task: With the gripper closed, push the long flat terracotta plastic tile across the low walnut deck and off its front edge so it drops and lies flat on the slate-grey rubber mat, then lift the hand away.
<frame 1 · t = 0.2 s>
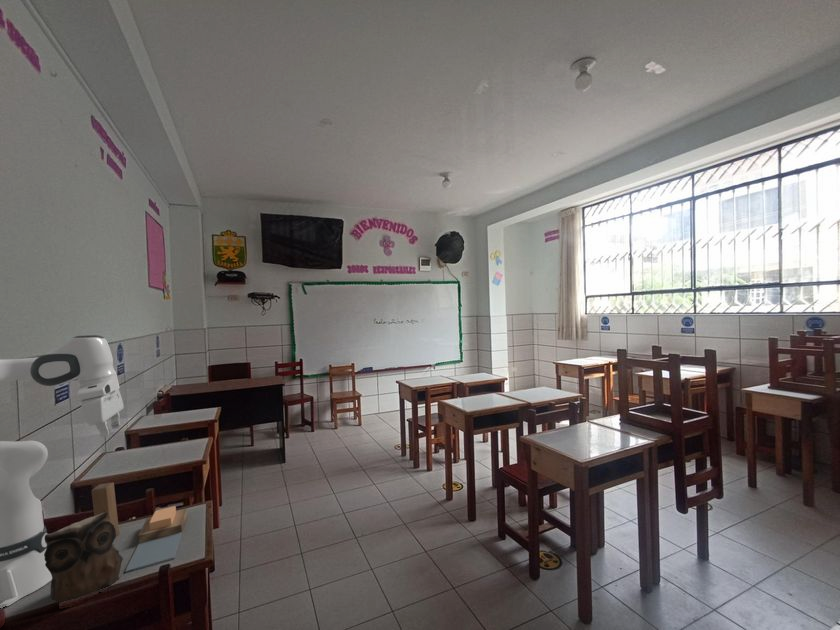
hand: (111, 431, 119), 39 cm above the table, tool pointing down, fingers open, 8 cm apart
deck: (164, 529, 134), on the table
wooden block: (101, 540, 131), on the table
mat: (155, 551, 122), on the table
tile: (163, 521, 134), point 3 cm above the table, touching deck
owl: (88, 589, 107), on the table
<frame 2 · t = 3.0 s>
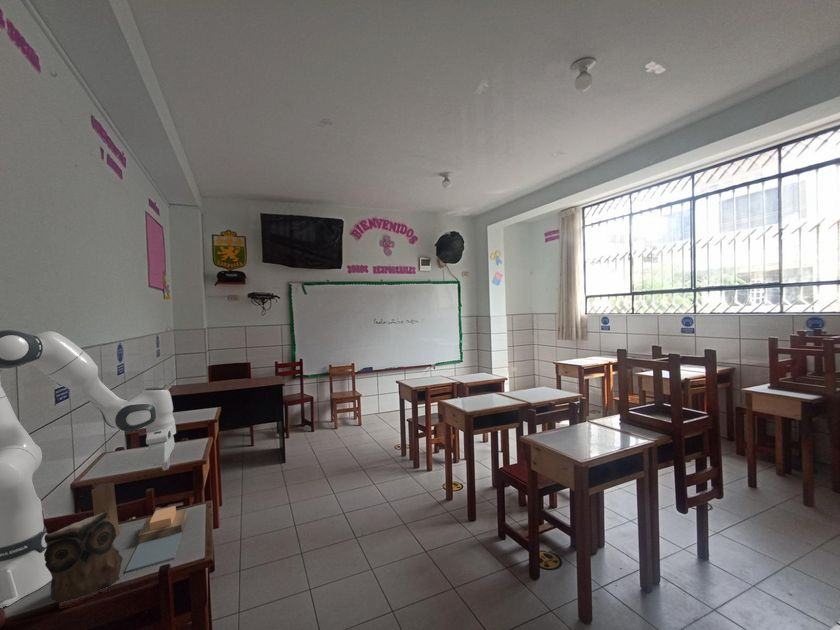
hand: (166, 468, 144), 17 cm above the table, tool pointing down, fingers closed
nothing on the table moved.
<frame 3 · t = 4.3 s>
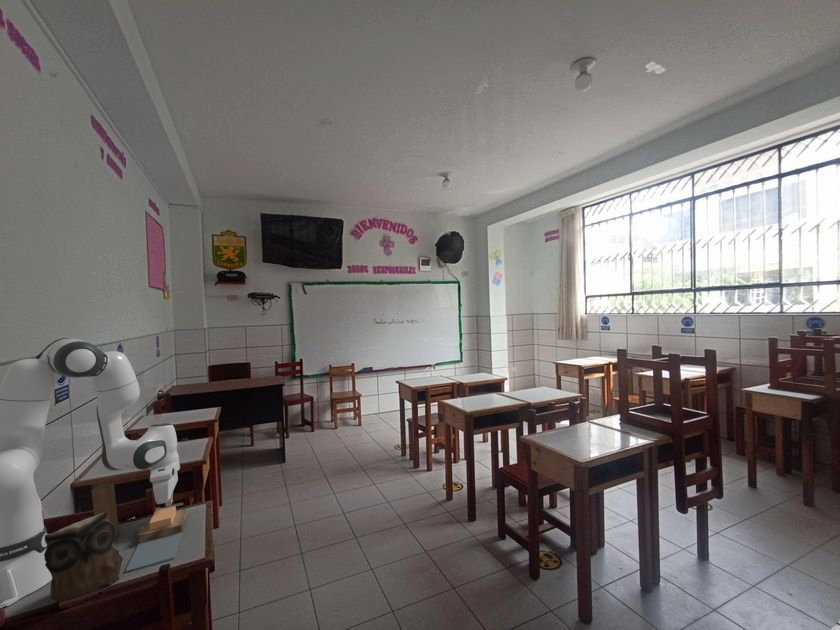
hand: (169, 504, 144), 4 cm above the table, tool pointing down, fingers closed
nothing on the table moved.
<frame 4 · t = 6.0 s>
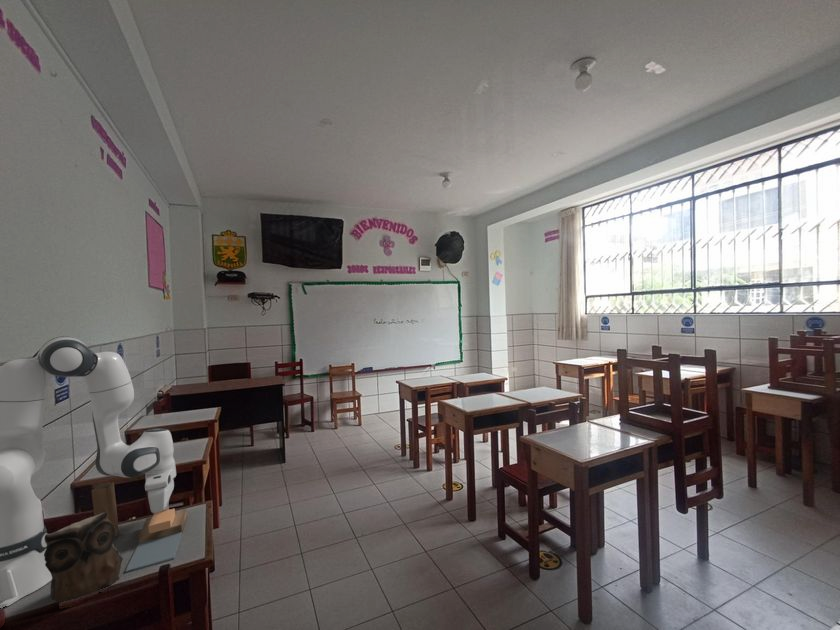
hand: (165, 513, 138), 4 cm above the table, tool pointing down, fingers closed
tile: (162, 524, 132), point 3 cm above the table, touching gripper
everything else where it was.
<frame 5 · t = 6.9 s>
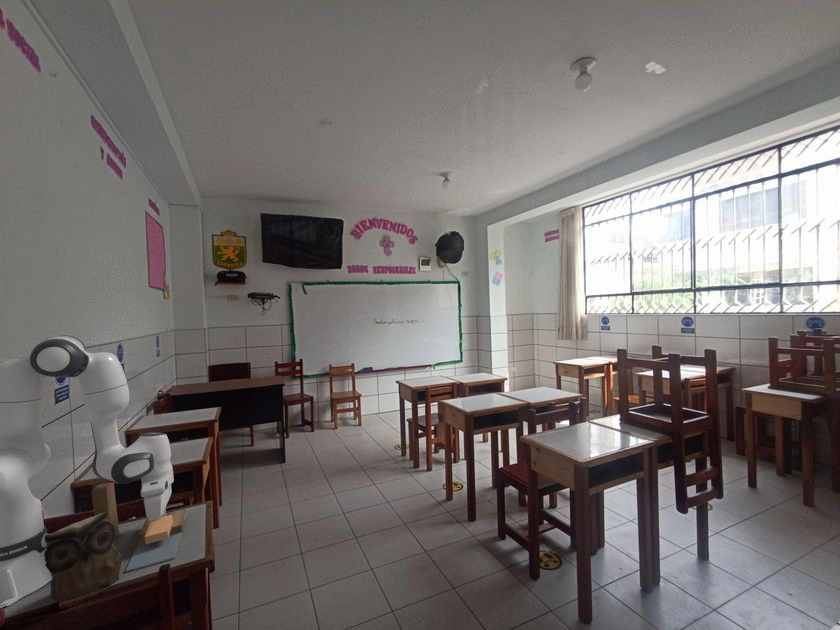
hand: (162, 520, 133), 4 cm above the table, tool pointing down, fingers closed
tile: (159, 532, 128), point 3 cm above the table, tilted 7°, touching gripper
everything else where it was.
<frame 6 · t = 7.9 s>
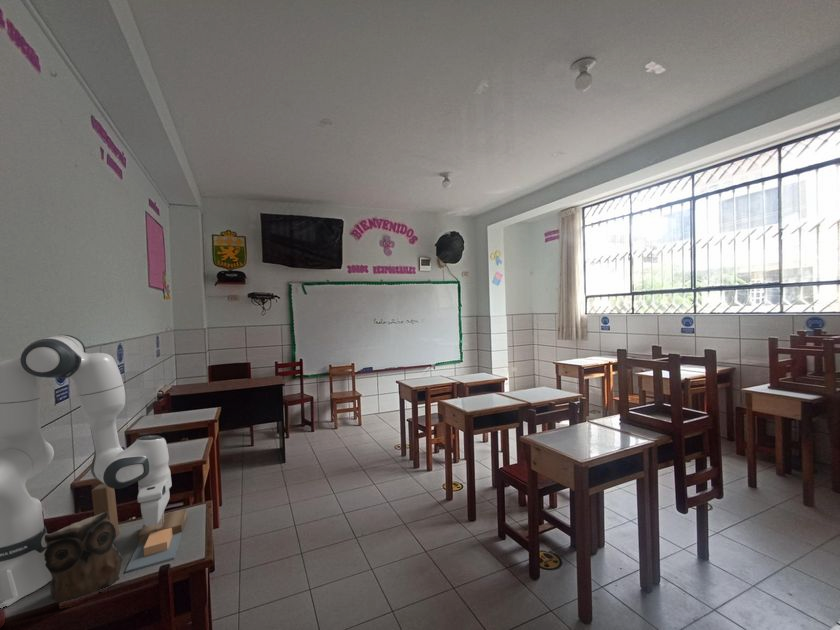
hand: (159, 526, 129), 4 cm above the table, tool pointing down, fingers closed
tile: (159, 545, 124), resting on mat
everything else where it was.
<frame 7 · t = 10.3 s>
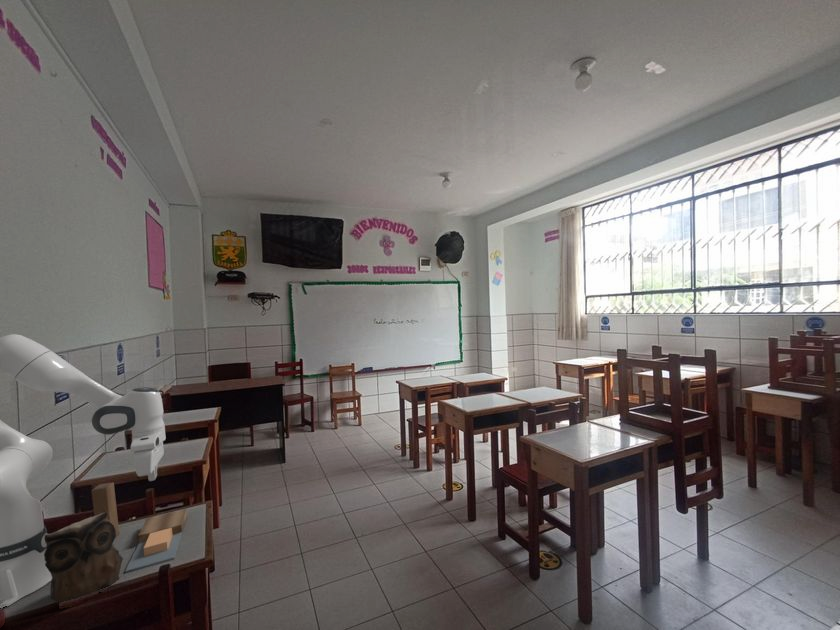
hand: (152, 479, 129), 20 cm above the table, tool pointing down, fingers closed
nothing on the table moved.
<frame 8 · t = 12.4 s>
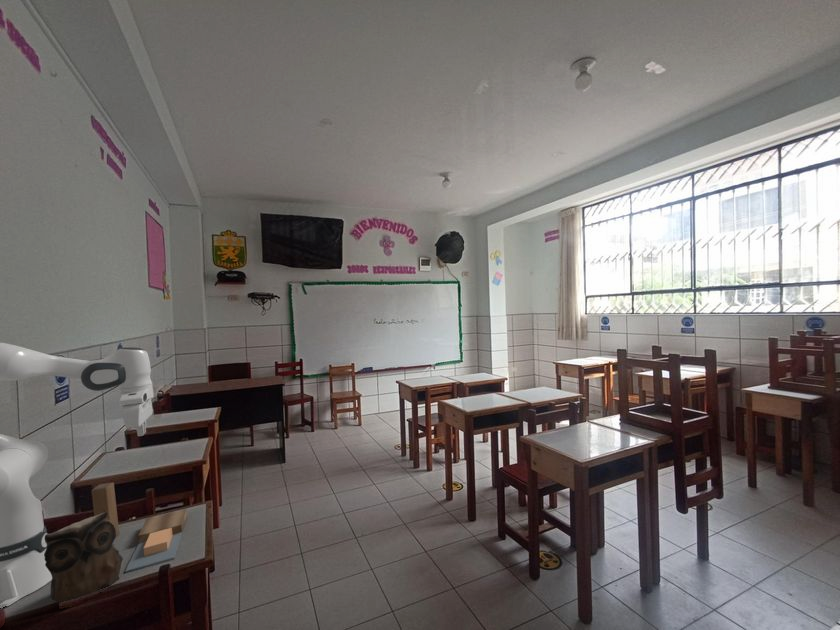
hand: (141, 434, 134), 33 cm above the table, tool pointing down, fingers closed
nothing on the table moved.
at the end: tile point 0.5 cm above the table; tile inside the target area on the mat (2.6 cm from its centre), point 0.5 cm above the mat's base; tile tilted 0° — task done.
